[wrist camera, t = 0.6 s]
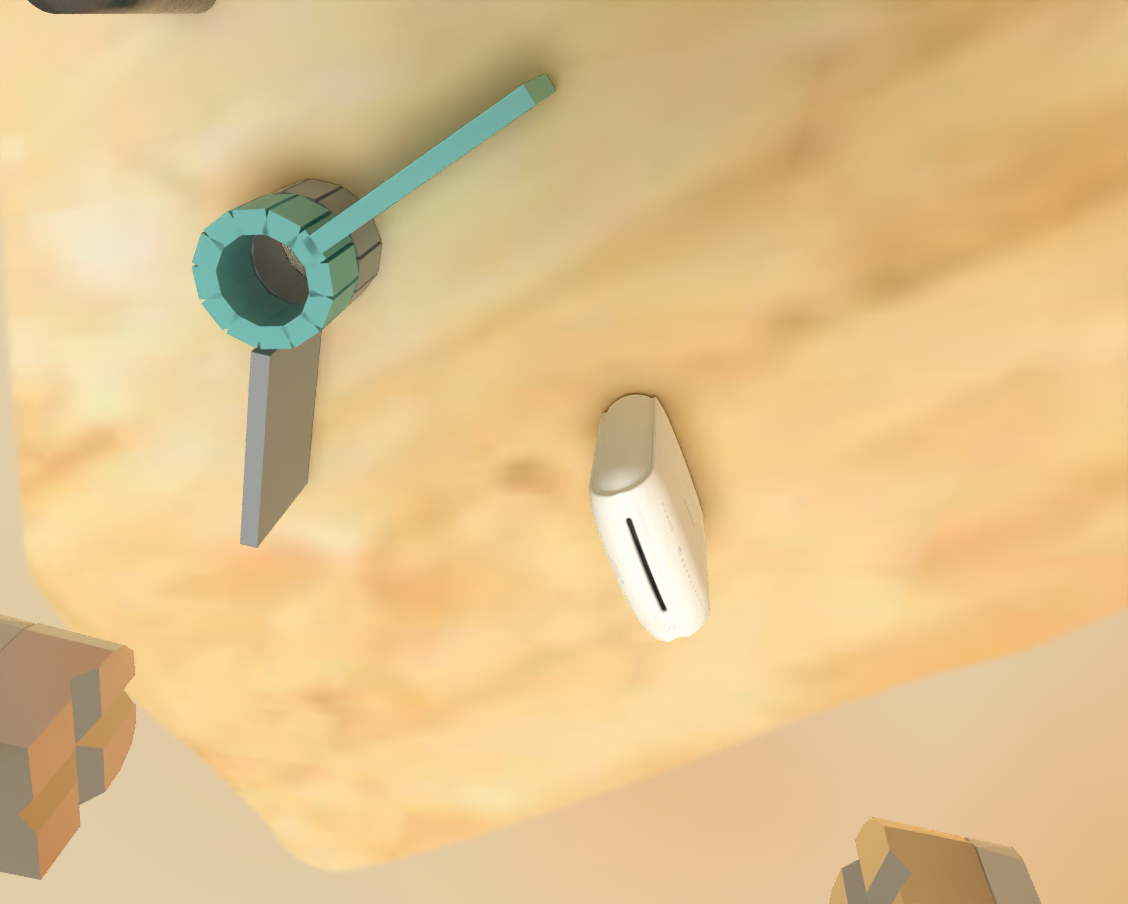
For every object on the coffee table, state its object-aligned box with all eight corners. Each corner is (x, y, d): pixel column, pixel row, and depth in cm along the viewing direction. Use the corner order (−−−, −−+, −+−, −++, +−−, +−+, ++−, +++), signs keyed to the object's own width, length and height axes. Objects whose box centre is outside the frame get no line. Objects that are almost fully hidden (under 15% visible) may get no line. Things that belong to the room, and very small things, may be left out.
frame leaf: (265, 167, 51) (198, 193, 43) (387, 196, 51) (340, 227, 43) (247, 469, 59) (189, 531, 52) (351, 493, 59) (307, 560, 52)
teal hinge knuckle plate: (311, 325, 54) (257, 372, 47) (234, 224, 52) (165, 258, 45) (587, 142, 48) (572, 164, 41) (512, 18, 46) (483, 20, 39)
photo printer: (712, 526, 58) (721, 648, 46) (648, 543, 59) (642, 667, 48) (660, 382, 54) (657, 479, 43) (592, 404, 55) (572, 503, 44)
